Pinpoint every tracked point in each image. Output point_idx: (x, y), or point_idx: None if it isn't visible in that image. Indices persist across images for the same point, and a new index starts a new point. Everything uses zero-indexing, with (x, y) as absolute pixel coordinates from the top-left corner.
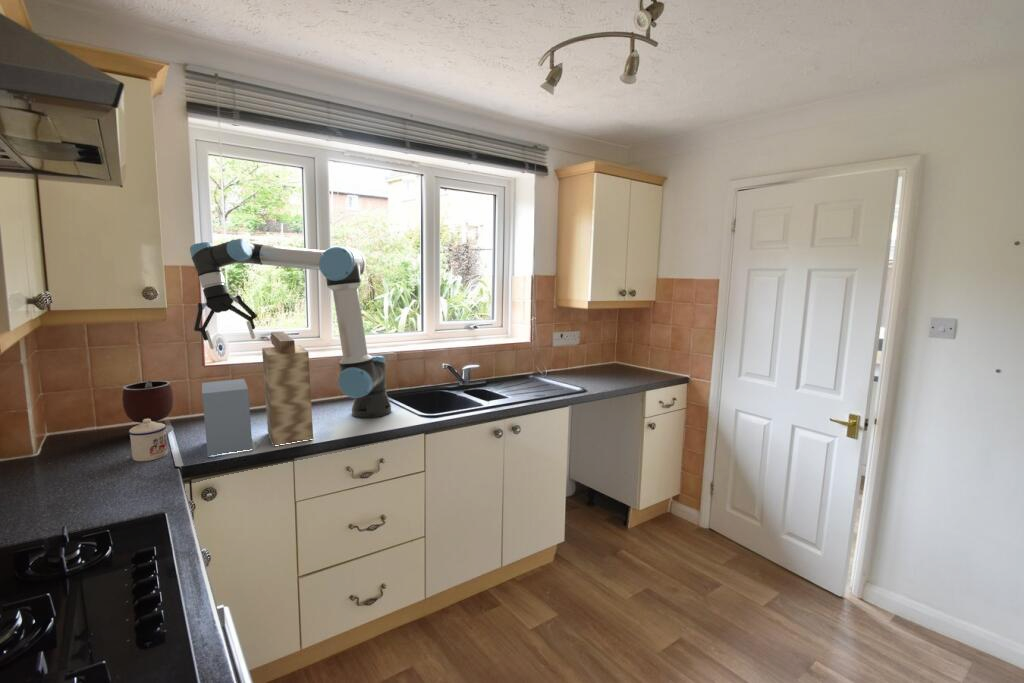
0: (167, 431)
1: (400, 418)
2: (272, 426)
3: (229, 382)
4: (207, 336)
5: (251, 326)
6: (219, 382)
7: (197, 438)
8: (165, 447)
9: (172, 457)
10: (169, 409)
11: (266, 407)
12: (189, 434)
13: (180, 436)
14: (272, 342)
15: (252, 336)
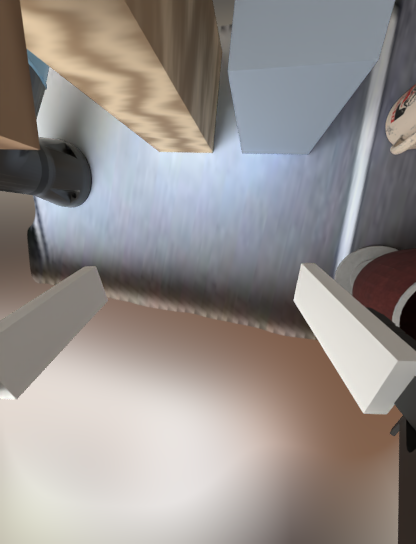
0: (350, 258)
1: (38, 115)
2: (213, 7)
3: (286, 12)
4: (369, 311)
5: (19, 309)
6: (318, 33)
7: (315, 192)
8: (403, 97)
9: (385, 86)
10: (366, 267)
11: (199, 120)
12: (320, 227)
13: (336, 223)
14: (17, 81)
15: (89, 273)
